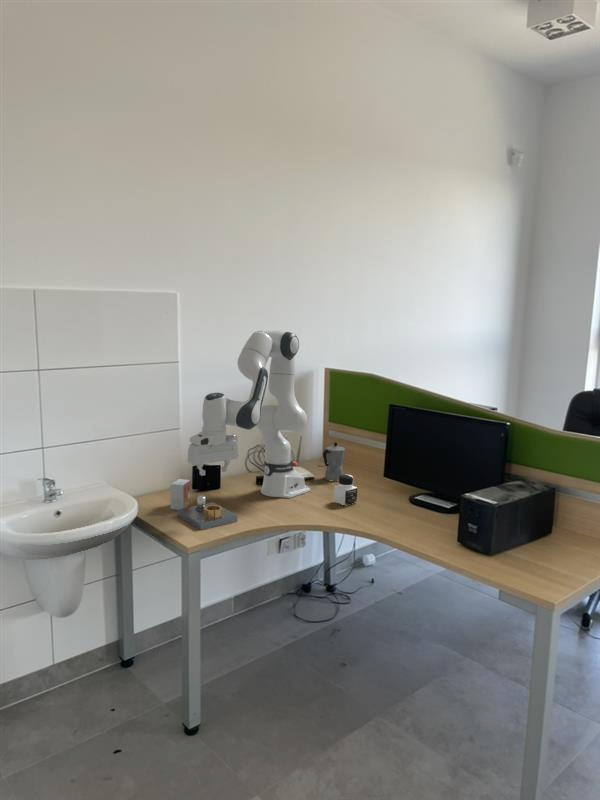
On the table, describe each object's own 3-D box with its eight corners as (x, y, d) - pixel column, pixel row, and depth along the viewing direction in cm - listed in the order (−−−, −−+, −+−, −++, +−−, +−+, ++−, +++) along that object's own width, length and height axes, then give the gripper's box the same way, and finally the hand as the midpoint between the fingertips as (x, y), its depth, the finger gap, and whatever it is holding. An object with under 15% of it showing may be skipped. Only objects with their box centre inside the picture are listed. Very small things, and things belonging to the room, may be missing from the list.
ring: (216, 511, 234) (216, 504, 234) (225, 516, 229) (225, 509, 228) (201, 514, 230) (201, 507, 229) (210, 520, 225) (210, 512, 224)
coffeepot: (335, 474, 300) (336, 438, 298) (350, 478, 294) (351, 442, 291) (314, 480, 289) (316, 443, 286) (330, 484, 283) (331, 447, 280)
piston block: (213, 508, 245) (213, 490, 244) (237, 521, 231) (237, 502, 230) (177, 515, 235) (177, 497, 234) (200, 530, 221) (200, 510, 220)
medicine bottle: (345, 506, 253) (346, 478, 251) (333, 502, 258) (334, 474, 256) (356, 503, 257) (358, 476, 255) (344, 499, 263) (346, 472, 261)
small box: (183, 510, 241) (183, 485, 239) (170, 509, 242) (170, 484, 240) (190, 504, 249) (191, 479, 247) (178, 503, 250) (178, 478, 248)
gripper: (233, 432, 234) (232, 467, 236) (185, 438, 221) (185, 475, 223) (242, 435, 229) (241, 471, 231) (194, 441, 216) (193, 479, 218)
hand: (213, 473), depth 227 cm, fingers open, 8 cm apart
